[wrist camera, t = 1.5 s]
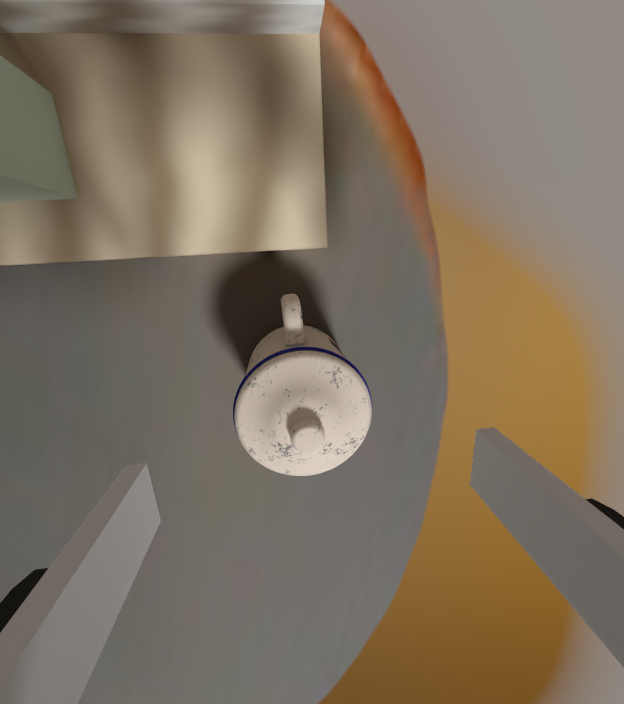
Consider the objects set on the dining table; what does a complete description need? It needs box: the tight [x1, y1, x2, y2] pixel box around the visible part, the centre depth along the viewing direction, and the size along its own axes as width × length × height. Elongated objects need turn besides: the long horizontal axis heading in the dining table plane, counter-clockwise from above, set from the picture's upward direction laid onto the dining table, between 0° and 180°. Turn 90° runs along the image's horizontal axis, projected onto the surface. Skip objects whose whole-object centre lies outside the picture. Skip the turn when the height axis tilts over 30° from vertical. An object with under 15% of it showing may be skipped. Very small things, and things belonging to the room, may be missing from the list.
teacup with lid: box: [233, 294, 372, 476], centre depth 22 cm, size 12×9×12 cm
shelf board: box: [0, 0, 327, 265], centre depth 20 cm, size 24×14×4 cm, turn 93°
